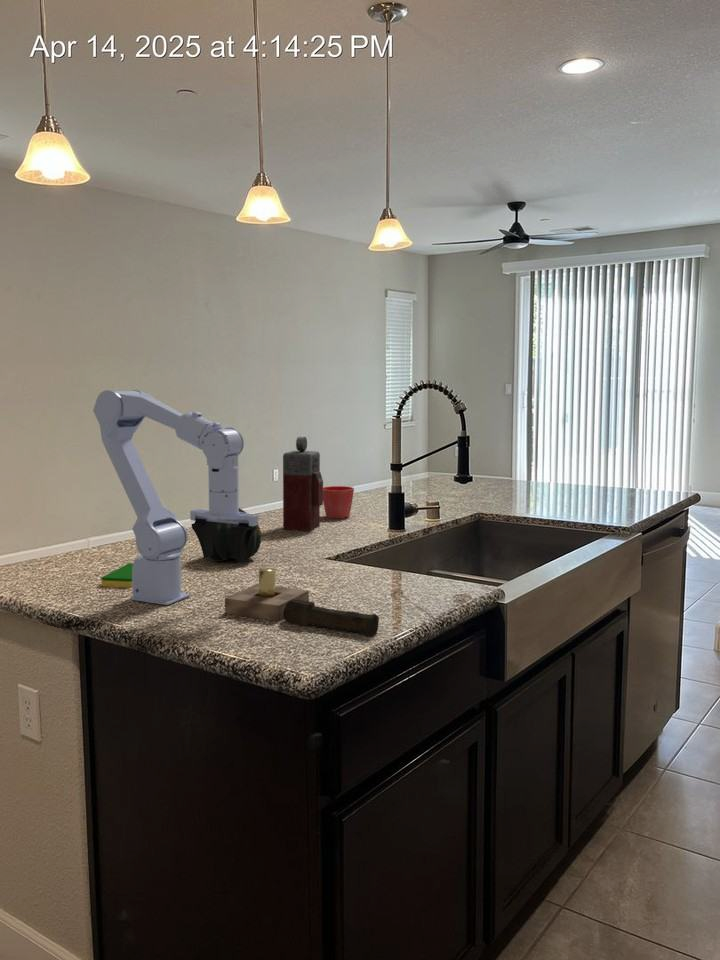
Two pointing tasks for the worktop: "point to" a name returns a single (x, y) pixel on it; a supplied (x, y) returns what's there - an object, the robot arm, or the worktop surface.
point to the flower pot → (337, 501)
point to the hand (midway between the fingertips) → (224, 559)
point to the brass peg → (267, 582)
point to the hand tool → (329, 617)
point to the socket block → (263, 602)
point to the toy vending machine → (302, 488)
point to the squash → (232, 542)
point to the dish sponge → (119, 577)
